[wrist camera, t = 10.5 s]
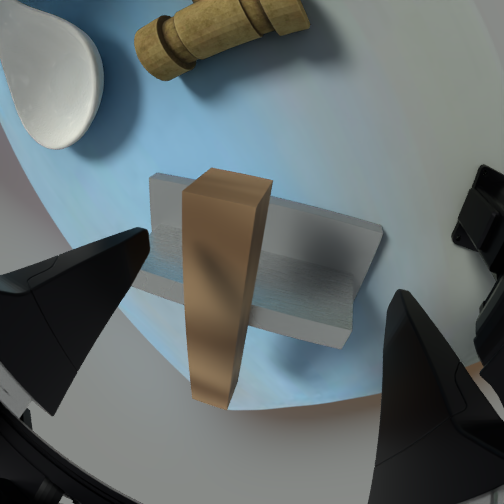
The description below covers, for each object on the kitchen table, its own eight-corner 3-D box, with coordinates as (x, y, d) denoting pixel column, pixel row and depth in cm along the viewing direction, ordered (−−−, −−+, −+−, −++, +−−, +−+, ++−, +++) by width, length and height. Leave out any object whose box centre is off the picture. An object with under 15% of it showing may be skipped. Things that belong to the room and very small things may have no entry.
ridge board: (381, 225, 20) (383, 233, 19) (341, 318, 26) (340, 327, 25) (156, 172, 22) (149, 177, 21) (161, 267, 28) (155, 274, 27)
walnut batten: (237, 381, 23) (226, 410, 21) (205, 371, 24) (192, 398, 22) (273, 180, 13) (255, 207, 11) (211, 167, 13) (181, 191, 11)
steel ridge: (352, 273, 21) (352, 330, 17) (344, 292, 22) (341, 349, 18) (160, 223, 24) (121, 262, 19) (162, 243, 25) (125, 283, 20)
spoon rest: (144, 100, 19) (79, 118, 14) (68, 158, 24) (16, 186, 19) (77, -64, 9) (26, -71, 3) (17, 6, 14) (-30, 12, 8)
